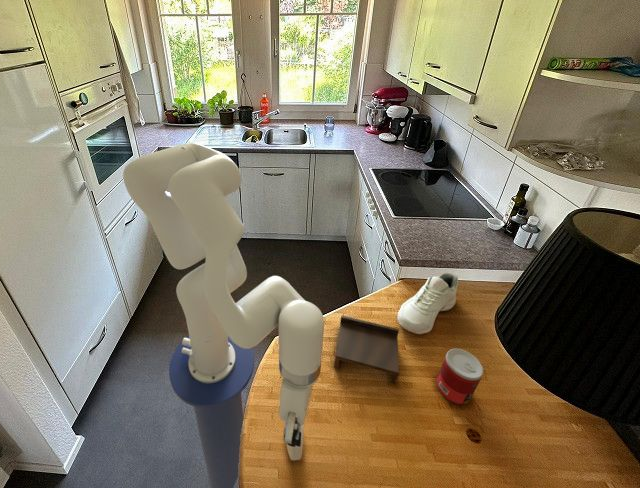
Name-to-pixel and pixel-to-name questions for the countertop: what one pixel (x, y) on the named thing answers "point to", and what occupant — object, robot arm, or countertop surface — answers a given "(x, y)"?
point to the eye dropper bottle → (296, 447)
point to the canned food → (459, 376)
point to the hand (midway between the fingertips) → (298, 416)
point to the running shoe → (428, 303)
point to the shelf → (368, 346)
